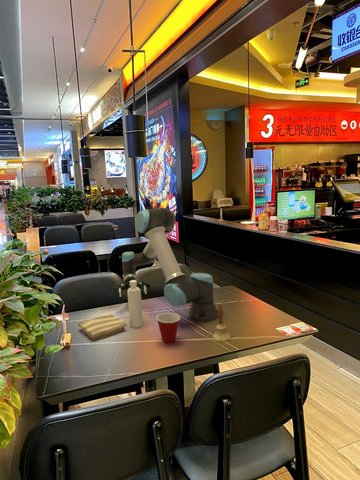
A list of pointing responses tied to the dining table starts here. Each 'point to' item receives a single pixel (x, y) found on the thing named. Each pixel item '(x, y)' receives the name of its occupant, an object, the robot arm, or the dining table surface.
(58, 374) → the dining table surface
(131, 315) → the spray bottle
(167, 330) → the plastic cup
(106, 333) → the stand
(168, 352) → the dining table surface
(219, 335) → the hand bell
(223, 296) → the dining table surface
